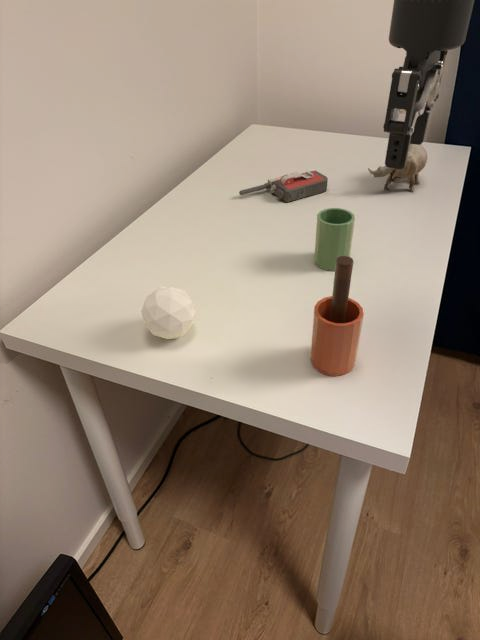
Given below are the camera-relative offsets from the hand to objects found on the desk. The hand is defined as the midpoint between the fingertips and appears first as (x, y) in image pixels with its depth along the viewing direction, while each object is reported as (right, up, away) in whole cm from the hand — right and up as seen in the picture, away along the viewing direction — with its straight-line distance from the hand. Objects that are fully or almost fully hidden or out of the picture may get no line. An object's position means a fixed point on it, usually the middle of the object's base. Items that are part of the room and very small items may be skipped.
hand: (404, 154), depth 57 cm
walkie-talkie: (-9, +9, +52) cm, 54 cm away
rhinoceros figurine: (+17, +11, +53) cm, 57 cm away
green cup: (-3, -9, +30) cm, 32 cm away
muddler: (-7, -25, +10) cm, 28 cm away
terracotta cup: (-7, -25, +11) cm, 28 cm away
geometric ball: (-30, -22, +17) cm, 41 cm away
